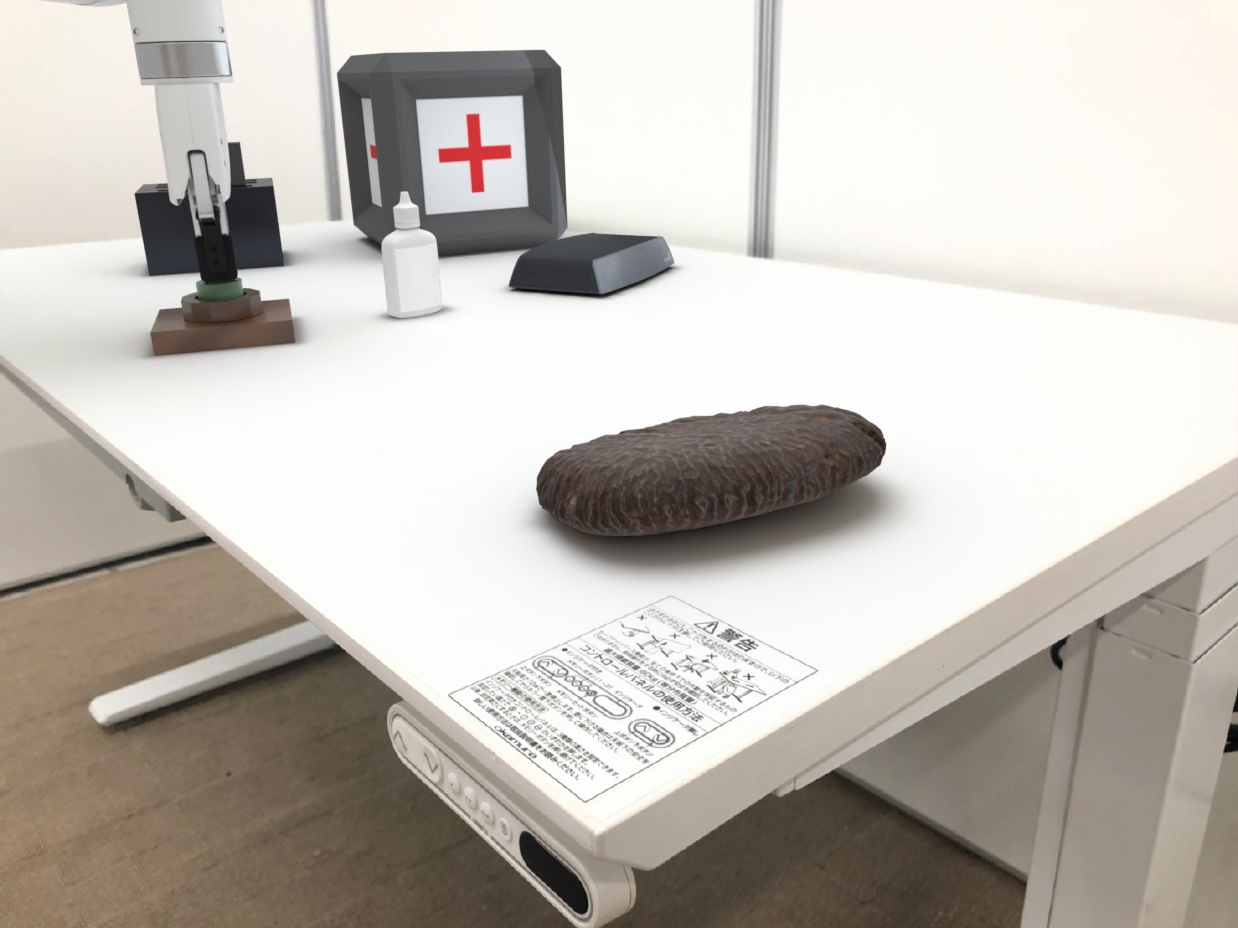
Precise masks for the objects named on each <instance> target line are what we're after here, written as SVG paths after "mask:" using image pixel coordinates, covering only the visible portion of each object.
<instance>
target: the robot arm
mask: <svg viewBox="0 0 1238 928" xmlns="http://www.w3.org/2000/svg"><path fill="white" fill-rule="evenodd" d="M40 1H41V2H47V3H57V4H58V3H60V4H69V5H75V6H85V7H94V8H103V7H104V8H106V7H115V6H119V5H125V4H126V8H127V14H128V20H129V25H130V30H131V38H132V42H133V49H134V53H135V59H136V65H137V70H138V75H139V82H140V86H154V97H155V99H154V100H155V109H156V116H157V124H158V131H159V138H160V143H161V144H160V145H161V151H162V156H163V161H164V162H163V163H164V169H165V175H166V183H168V190H169V197H170V201H171V202H172V203H173V204H174V205H180V203H181V202H182V200H183V199H184V197H185V196H186V194H188V197H189V202H190V208H191V213H192V219H193V224H194V229H195V236H194V242H195V248H196V254H197V259H198V265H199V271H200V272H199V276H200V277H199V278H200V280H202V281H204V282H210V281H222V280H234V279H236V278H237V277H239V269H237V263H236V257H235V250H234V244H233V238H232V233H228V232H229V228H228V221H227V215H226V208H225V201H226V200H227V199H228V198H229V197H230V192H231V178H230V161H229V150H228V142H229V141H228V135H227V127H226V126H227V125H226V119H225V113H224V106H223V100H222V92H221V87H220V84H226V83H227V84H229V83H234V75H233V69H232V62H231V55H230V49H229V43H228V36H227V29H226V22H225V15H224V9H223V2H222V0H40Z"/></svg>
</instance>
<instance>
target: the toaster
mask: <svg viewBox="0 0 1238 928" xmlns="http://www.w3.org/2000/svg"><path fill="white" fill-rule="evenodd" d="M245 180H246V185H234V186H231V192H230V197H229V198H228V199H227V200H226V201H225V208H226V215H227V221H228V228H229V232H228V233H232V238H233V244H234V250H235V257H236V263H237V269H238V270H249V269H251V270H252V269H264V268H265V269H266V268H275V267H285V260H284V253H283V252H284V251H283V246H282V244H283V243H282V238H281V231H280V230H281V229H280V223H279V216H278V209H277V202H276V201H277V200H276V194H275V185H274V179H273V177H260V178H259V177H257V178H245ZM133 195H134V199H135V205H136V210H137V216H138V217H137V218H138V222H139V226H140V233H141V238H142V244H143V249H144V254H145V260H146V266H147V271H148V276H149V277H156V276H157V277H158V276H169V275H171V276H172V275H184V274H197V273H200V271H199V265H198V259H197V254H196V248H195V242H194V236H195V229H194V224H193V219H192V213H191V208H190V202H189V197H188V194H186V196H185V197H184V199H183V200H182V202H181V203H180V205H174V204H173V203H172V202H171V201H170V197H169V190H168V183H167V182H164V183H163V182H162V183H143V184H142V185H141V186H140V187H139V188H137V190H136V191H134V193H133Z"/></svg>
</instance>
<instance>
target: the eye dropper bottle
mask: <svg viewBox="0 0 1238 928" xmlns="http://www.w3.org/2000/svg"><path fill="white" fill-rule="evenodd" d="M393 211H394V222H395V228H398V229H396V230H395V231H394V232H392V233H390V234H389V235H387V236H386V237H385V238H384V239H383V241H382V244H381V245H380V246H381V247H380V249H381V261H382V271H383V282H384V291H385V298H386V299H385V300H386V309H387V314H388V316H390V317H393V318H397V319H412V318H417V317H418V318H419V317H423V316H427V315H431V314H435V313H437V312H440V311H441V310H442V309H443V299H442V298H443V297H442V287H441V286H442V285H441V274H440V262H439V261H440V260H439V256H438V250H437V242H436V238H435V236H434V235H433V234H432V233H430V232H428V231H426V230H422V229H420V228H418V227H419V226H420V220H419V209H418V206H417V205H415V204H413V203H412V202H411V201H410V197H409V194H408V192H401V194H400V202H399V204H398V205H396V206H394V207H393Z"/></svg>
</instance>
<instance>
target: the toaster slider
mask: <svg viewBox="0 0 1238 928" xmlns="http://www.w3.org/2000/svg"><path fill="white" fill-rule="evenodd" d="M228 150H229V161H230V178H231V186H234V185H246V180H245V179H246V174H245V167H244V159H243V152H242V145H241V141H228Z"/></svg>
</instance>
